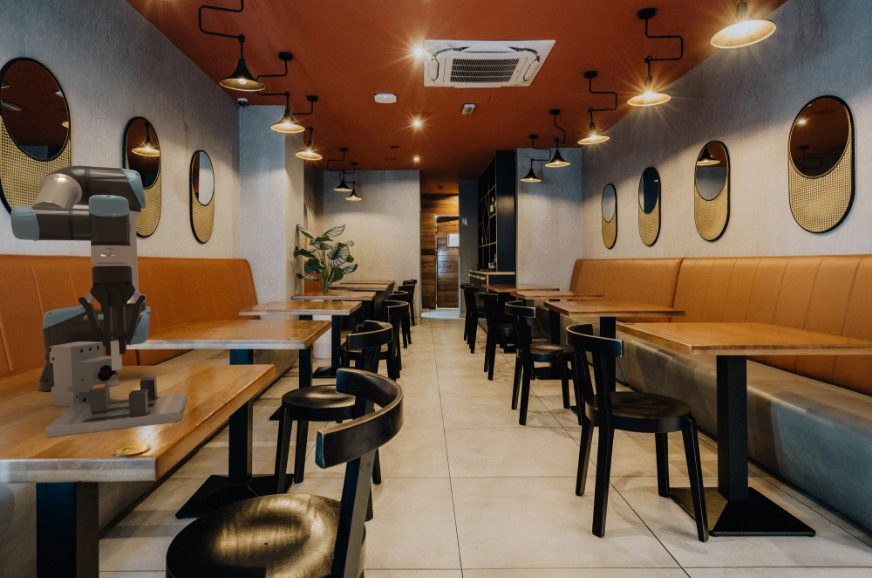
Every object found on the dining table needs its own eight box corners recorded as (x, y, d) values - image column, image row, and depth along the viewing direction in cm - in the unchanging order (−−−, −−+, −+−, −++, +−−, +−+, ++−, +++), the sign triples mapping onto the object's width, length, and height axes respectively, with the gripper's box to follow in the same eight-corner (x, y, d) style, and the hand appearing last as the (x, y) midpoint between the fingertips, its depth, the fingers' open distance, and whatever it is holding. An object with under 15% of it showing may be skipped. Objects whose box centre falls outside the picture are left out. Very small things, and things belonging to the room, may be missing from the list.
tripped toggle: (94, 408, 110) (93, 384, 109) (110, 406, 111) (109, 383, 111) (90, 412, 106) (89, 388, 106) (106, 410, 108) (105, 386, 107)
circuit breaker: (99, 407, 119) (96, 347, 118) (52, 405, 121) (49, 346, 121) (125, 399, 126) (122, 342, 125) (79, 397, 129) (76, 341, 128)
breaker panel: (72, 413, 114) (71, 384, 114) (186, 400, 123) (185, 373, 123) (46, 437, 98) (44, 403, 97) (179, 420, 107) (178, 389, 107)
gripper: (72, 265, 102) (77, 375, 104) (143, 264, 108) (147, 369, 109) (81, 265, 109) (86, 368, 111) (147, 264, 115) (152, 363, 116)
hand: (117, 368), depth 110 cm, fingers closed
